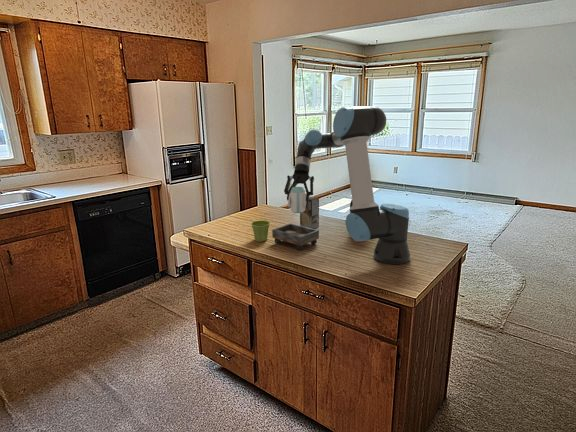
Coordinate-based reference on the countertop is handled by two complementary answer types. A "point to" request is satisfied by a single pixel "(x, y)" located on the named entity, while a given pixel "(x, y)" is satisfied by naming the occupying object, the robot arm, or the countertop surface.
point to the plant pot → (260, 230)
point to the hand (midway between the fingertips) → (296, 206)
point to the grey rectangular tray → (295, 235)
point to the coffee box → (310, 214)
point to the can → (297, 199)
